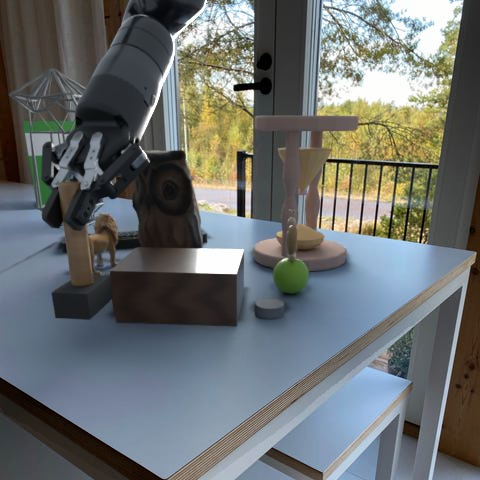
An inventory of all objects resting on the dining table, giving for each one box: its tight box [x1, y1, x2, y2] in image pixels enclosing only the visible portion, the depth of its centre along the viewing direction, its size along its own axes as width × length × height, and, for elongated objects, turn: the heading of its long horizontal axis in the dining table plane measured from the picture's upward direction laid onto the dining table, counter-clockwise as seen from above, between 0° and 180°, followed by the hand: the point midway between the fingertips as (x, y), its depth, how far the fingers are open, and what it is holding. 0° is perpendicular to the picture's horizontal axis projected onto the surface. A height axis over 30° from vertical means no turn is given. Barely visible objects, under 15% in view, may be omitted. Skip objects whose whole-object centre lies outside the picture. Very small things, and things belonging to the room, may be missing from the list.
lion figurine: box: [68, 212, 119, 279], centre depth 82 cm, size 15×5×9 cm, turn 171°
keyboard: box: [61, 229, 208, 253], centre depth 103 cm, size 30×11×2 cm, turn 107°
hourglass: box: [252, 115, 360, 272], centre depth 86 cm, size 18×18×25 cm
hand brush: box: [51, 182, 113, 321], centre depth 52 cm, size 4×7×14 cm, turn 174°
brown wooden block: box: [108, 247, 245, 327], centre depth 66 cm, size 17×12×7 cm
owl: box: [131, 149, 204, 249], centre depth 83 cm, size 13×13×20 cm
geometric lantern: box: [8, 68, 105, 227], centre depth 113 cm, size 16×16×35 cm
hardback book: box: [22, 120, 76, 206], centre depth 141 cm, size 18×7×24 cm, turn 110°
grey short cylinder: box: [254, 297, 285, 320], centre depth 64 cm, size 4×4×2 cm
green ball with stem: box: [272, 209, 310, 294], centre depth 71 cm, size 5×6×12 cm
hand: (61, 224), depth 49 cm, fingers closed on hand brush, 2 cm apart
